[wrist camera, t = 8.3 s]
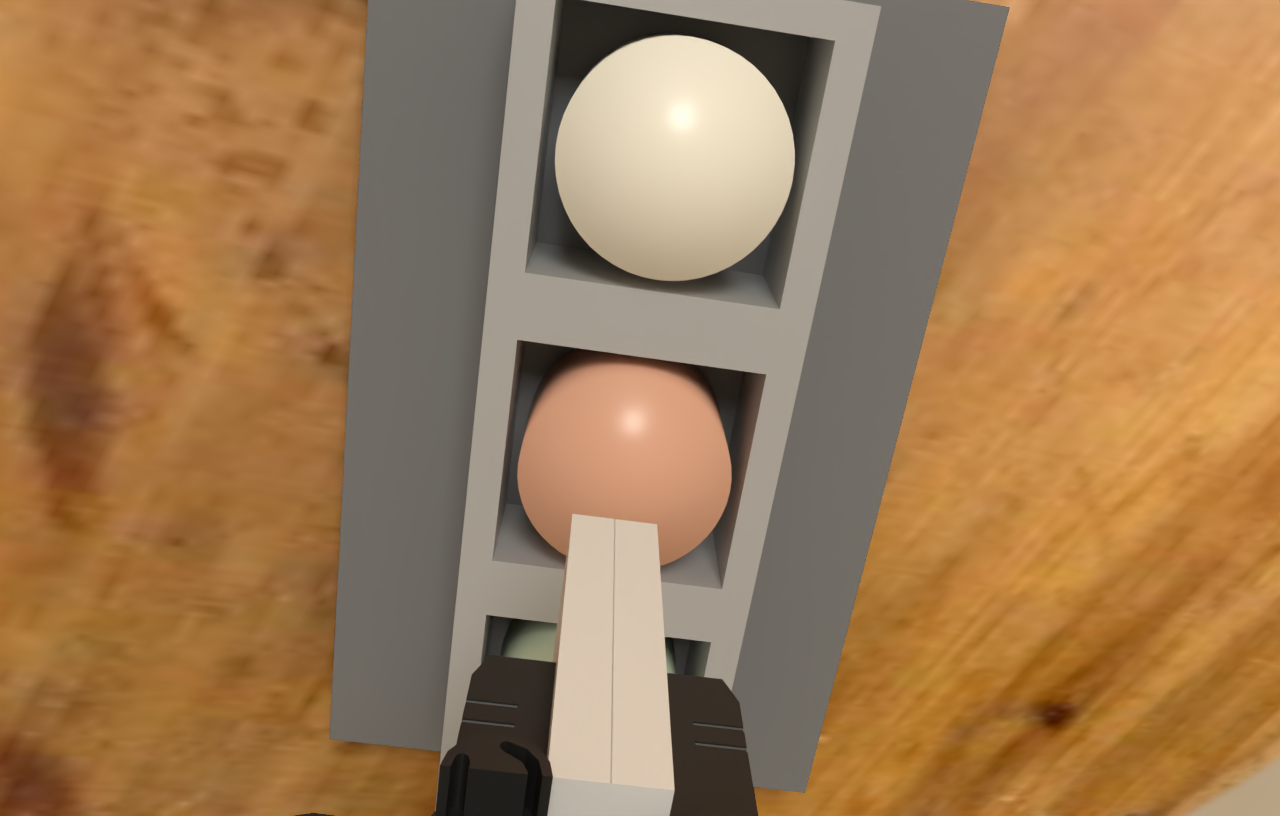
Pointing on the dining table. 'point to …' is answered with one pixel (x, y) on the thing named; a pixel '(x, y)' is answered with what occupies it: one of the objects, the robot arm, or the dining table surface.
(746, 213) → the button ivory
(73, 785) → the dining table surface
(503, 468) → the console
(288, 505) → the dining table surface
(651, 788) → the robot arm
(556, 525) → the button terracotta
